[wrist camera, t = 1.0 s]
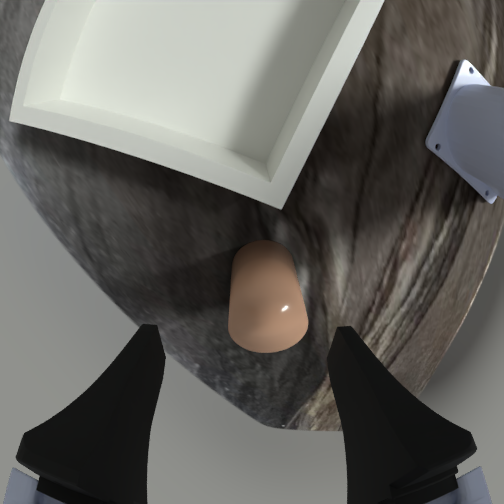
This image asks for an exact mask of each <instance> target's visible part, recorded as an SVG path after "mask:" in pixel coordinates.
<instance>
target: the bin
mask: <svg viewBox="0 0 504 504" xmlns="http://www.w3.org/2000/svg"><path fill="white" fill-rule="evenodd" d="M383 2H384V0H45V2H44V5H43V7H42V9H41V11H40V14H39V16H38V19H37V21H36V24H35V26H34V29H33V31H32V34H31V37H30V40H29V43H28V46H27V49H26V52H25V55H24V58H23V62H22V65H21V69H20V72H19V76H18V80H17V84H16V89H15V93H14V98H13V103H12V108H11V114H10V120H9V121H12V122H16V123H20V124H24V125H28V126H32V127H36V128H40V129H44V130H48V131H51V132H55V133H59V134H62V135H66V136H70V137H73V138H77V139H80V140H84V141H87V142H90V143H94V144H97V145H100V146H104V147H107V148H110V149H113V150H117V151H120V152H123V153H126V154H129V155H132V156H135V157H139V158H142V159H145V160H148V161H151V162H154V163H157V164H160V165H163V166H166V167H168V168H171V169H174V170H177V171H180V172H183V173H186V174H189V175H191V176H194V177H197V178H200V179H203V180H205V181H208V182H211V183H213V184H216V185H219V186H222V187H224V188H227V189H230V190H232V191H235V192H237V193H240V194H243V195H245V196H248V197H251V198H253V199H256V200H258V201H261V202H263V203H266V204H268V205H271V206H273V207H276V208H278V209H281V210H282V208H283V206H284V204H285V202H286V200H287V198H288V196H289V194H290V192H291V190H292V188H293V186H294V184H295V182H296V180H297V178H298V176H299V174H300V172H301V170H302V168H303V166H304V164H305V162H306V160H307V158H308V156H309V154H310V152H311V150H312V148H313V145H314V143H315V141H316V139H317V137H318V135H319V133H320V131H321V129H322V127H323V125H324V123H325V121H326V119H327V117H328V115H329V113H330V111H331V109H332V107H333V105H334V103H335V101H336V99H337V97H338V95H339V93H340V91H341V89H342V87H343V85H344V83H345V81H346V79H347V77H348V75H349V72H350V70H351V68H352V66H353V64H354V62H355V60H356V58H357V56H358V54H359V52H360V50H361V48H362V46H363V44H364V42H365V40H366V38H367V35H368V33H369V31H370V29H371V27H372V25H373V23H374V21H375V19H376V17H377V15H378V13H379V11H380V9H381V6H382V4H383Z"/></svg>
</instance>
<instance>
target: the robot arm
mask: <svg viewBox="0 0 504 504" xmlns="http://www.w3.org/2000/svg"><path fill="white" fill-rule="evenodd" d="M469 69H470V72H469ZM425 144H426V147H427V148H428V149H429V150H431V151H432V152H433V153H434V154H436V155H437V156H438V157H439V158H441V159H442V160H443V161H444V162H445V163H447V164H448V165H449V166H450V167H451V168H452V169H453V170H455V171H456V172H457V173H458V174H459V175H460V176H461V177H462V178H463V179H465V180H466V181H467V182H468V183H469V184H470V185H471V186H472V187H473V188H474V189H475V190H476V191H477V192H478V193H479V194H480V195H481V196H482V197H483V198H484V199H485V200H486V201H487V202H489V203H490V204H492V203H493V202H494V201H495V199H496V197H497V195H498V196H499V197H501V198H502V199H504V88H501V87H494V86H490V84H489V83H488V82H487V81H486V80H485V79H484V78H483V76H482V75H481V74H480V73H479V72H478V71H477V70H476V69H475V68H474V67H473V66H472V65H471V63H470V62H469V61H467V60H461V61H460V62H459V65H458V67H457V70H456V73H455V75H454V78H453V80H452V83H451V85H450V87H449V90H448V92H447V94H446V97H445V99H444V101H443V104H442V106H441V108H440V110H439V113H438V115H437V117H436V119H435V121H434V123H433V125H432V128H431V130H430V132H429V134H428V136H427V138H426V141H425ZM436 144H438V148H437V149H436V148H435V146H436ZM485 192H486V193H485ZM165 359H166V356H165V353H164V349H163V346H162V342H161V338H160V334H159V331H158V327H157V325H150V324H142V325H141V326H140V328H139V329H138V331H137V332H136V333H135V334H134V336H133V337H132V338H131V340H130V341H129V342H128V343H127V345H126V346H125V347H124V349H123V350H122V351H121V352H120V354H119V355H118V356H117V357H116V359H115V360H114V361H113V362H112V363H111V364H110V366H109V367H108V368H107V369H106V370H105V371H104V372H103V373H102V375H101V376H100V377H99V378H98V379H97V380H96V381H95V382H94V383H93V384H92V385H91V386H90V387H89V388H88V389H87V390H86V391H85V392H84V393H83V394H81V395H80V396H79V397H78V398H77V399H76V400H74V401H73V402H72V403H71V404H70V405H68V406H67V407H66V408H64V409H63V410H62V411H60V412H59V413H57V414H56V415H55V416H53V417H52V418H50V419H49V420H47V421H46V422H44V423H42V424H40V425H39V426H37V427H35V428H33V429H31V430H29V431H27V432H25V433H24V435H23V438H22V440H21V443H20V446H19V449H18V452H17V455H16V459H17V461H18V462H19V463H21V464H22V465H23V466H25V467H27V468H28V469H30V470H31V471H33V472H34V473H36V474H38V475H39V476H40V477H39V481H38V480H36V479H34V478H32V477H31V476H29V475H27V474H25V473H23V472H21V471H19V470H18V469H16V468H12V471H11V474H10V478H9V482H8V485H7V490H6V494H5V498H4V502H3V504H147V463H148V449H149V439H150V431H151V425H152V420H153V416H154V412H155V408H156V404H157V400H158V396H159V392H160V388H161V384H162V380H163V374H164V367H165ZM327 362H328V370H329V377H330V382H331V386H332V390H333V393H334V397H335V401H336V405H337V408H338V412H339V416H340V420H341V424H342V429H343V434H344V443H345V452H346V464H347V485H348V486H347V492H348V493H347V504H492V502H491V498H490V494H489V491H488V487H487V484H486V481H485V477H484V474H483V471H482V468H481V467H480V466H479V467H477V468H475V469H474V470H472V471H470V472H468V473H466V474H465V475H463V476H461V477H459V478H457V479H456V477H455V474H456V473H458V469H457V465H459V464H460V463H462V462H463V461H465V460H466V459H467V458H469V457H470V456H472V455H473V454H474V453H475V452H476V450H477V447H476V444H475V442H474V439H473V437H472V434H471V432H469V431H467V430H465V429H463V428H461V427H459V426H457V425H455V424H453V423H452V422H450V421H448V420H446V419H445V418H443V417H442V416H440V415H439V414H437V413H436V412H434V411H433V410H431V409H430V408H429V407H427V406H426V405H425V404H423V403H422V402H421V401H419V400H418V399H417V398H416V397H415V396H413V395H412V394H411V393H410V392H409V391H408V390H407V389H406V388H405V387H403V386H402V385H401V384H400V383H399V382H398V381H397V380H396V379H395V378H394V376H393V375H392V374H391V373H390V372H389V371H388V370H387V369H386V368H385V367H384V365H383V364H382V363H381V362H380V361H379V360H378V358H377V357H376V356H375V355H374V354H373V353H372V351H371V350H370V349H369V348H368V346H367V345H366V344H365V343H364V341H363V340H362V339H361V338H360V336H359V335H358V334H357V333H356V331H355V330H354V329H353V328H352V327H351V326H344V327H337V329H336V333H335V336H334V339H333V342H332V345H331V348H330V351H329V354H328V357H327Z"/></svg>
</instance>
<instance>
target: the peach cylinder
mask: <svg viewBox="0 0 504 504" xmlns="http://www.w3.org/2000/svg"><path fill="white" fill-rule="evenodd" d="M307 328H308V318H307V313H306V309H305V305H304V301H303V297H302V293H301V289H300V285H299V281H298V277H297V273H296V269H295V265H294V262H293V258H292V256H291V254H290V252H289V251H288V250H287V249H286V248H285V247H284V246H283V245H281V244H279V243H277V242H274V241H270V240H258V241H254V242H251V243H248V244H246V245H245V246H243V247H242V248H241V249H240V250H239V251H238V252H237V253H236V255H235V257H234V259H233V262H232V274H231V289H230V305H229V322H228V329H229V333H230V336H231V337H232V339H233V340H234V341H235V342H236V343H237V344H238V345H240V346H241V347H243V348H245V349H247V350H250V351H254V352H260V353H271V352H277V351H281V350H284V349H287V348H289V347H291V346H293V345H294V344H296V343H297V342H298V341H299V340H300V339H301V338H302V337H303V336H304V334H305V333H306V331H307Z"/></svg>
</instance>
